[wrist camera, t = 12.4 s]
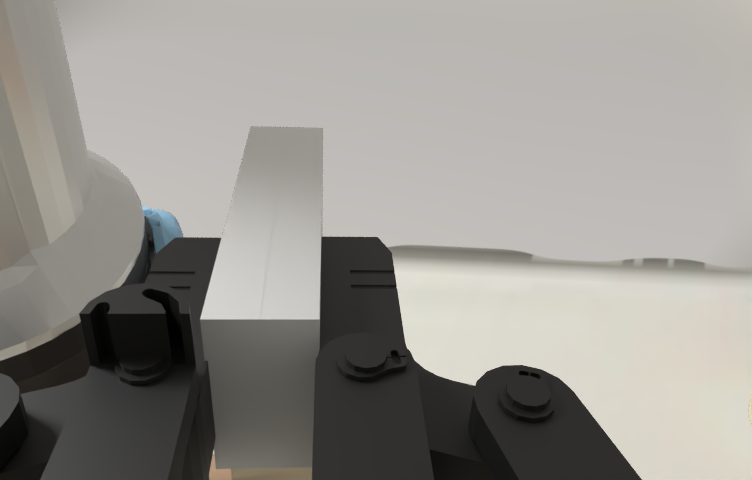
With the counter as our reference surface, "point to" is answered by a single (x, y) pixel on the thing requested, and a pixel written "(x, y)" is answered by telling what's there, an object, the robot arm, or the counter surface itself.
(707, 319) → the counter surface
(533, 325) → the counter surface
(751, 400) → the reusable coffee cup
